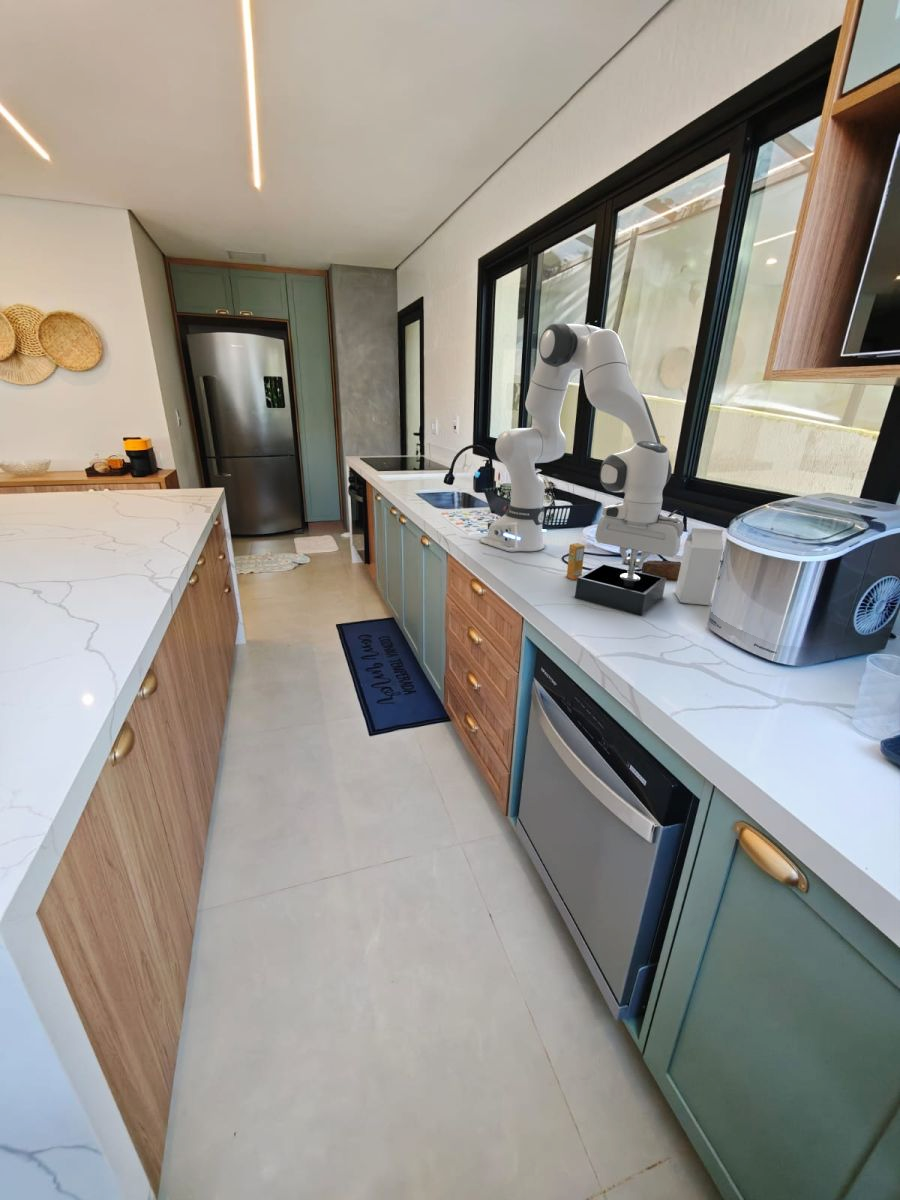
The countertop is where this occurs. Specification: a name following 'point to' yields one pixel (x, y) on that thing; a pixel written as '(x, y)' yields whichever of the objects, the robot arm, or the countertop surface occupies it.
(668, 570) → the brick
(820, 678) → the countertop surface
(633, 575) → the screw
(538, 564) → the countertop surface
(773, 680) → the countertop surface
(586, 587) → the grey storage bin
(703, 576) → the milk carton
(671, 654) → the countertop surface
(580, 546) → the supplement box
